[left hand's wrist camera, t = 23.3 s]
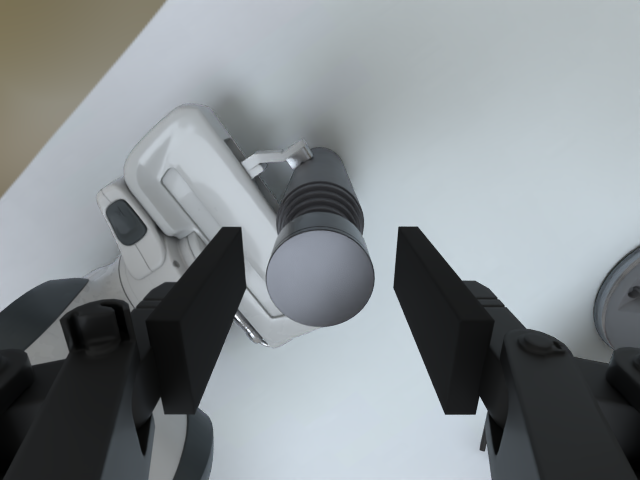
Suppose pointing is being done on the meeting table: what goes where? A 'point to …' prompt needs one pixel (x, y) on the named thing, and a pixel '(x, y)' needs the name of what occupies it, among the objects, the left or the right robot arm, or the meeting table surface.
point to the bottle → (320, 191)
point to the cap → (320, 270)
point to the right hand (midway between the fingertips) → (329, 180)
